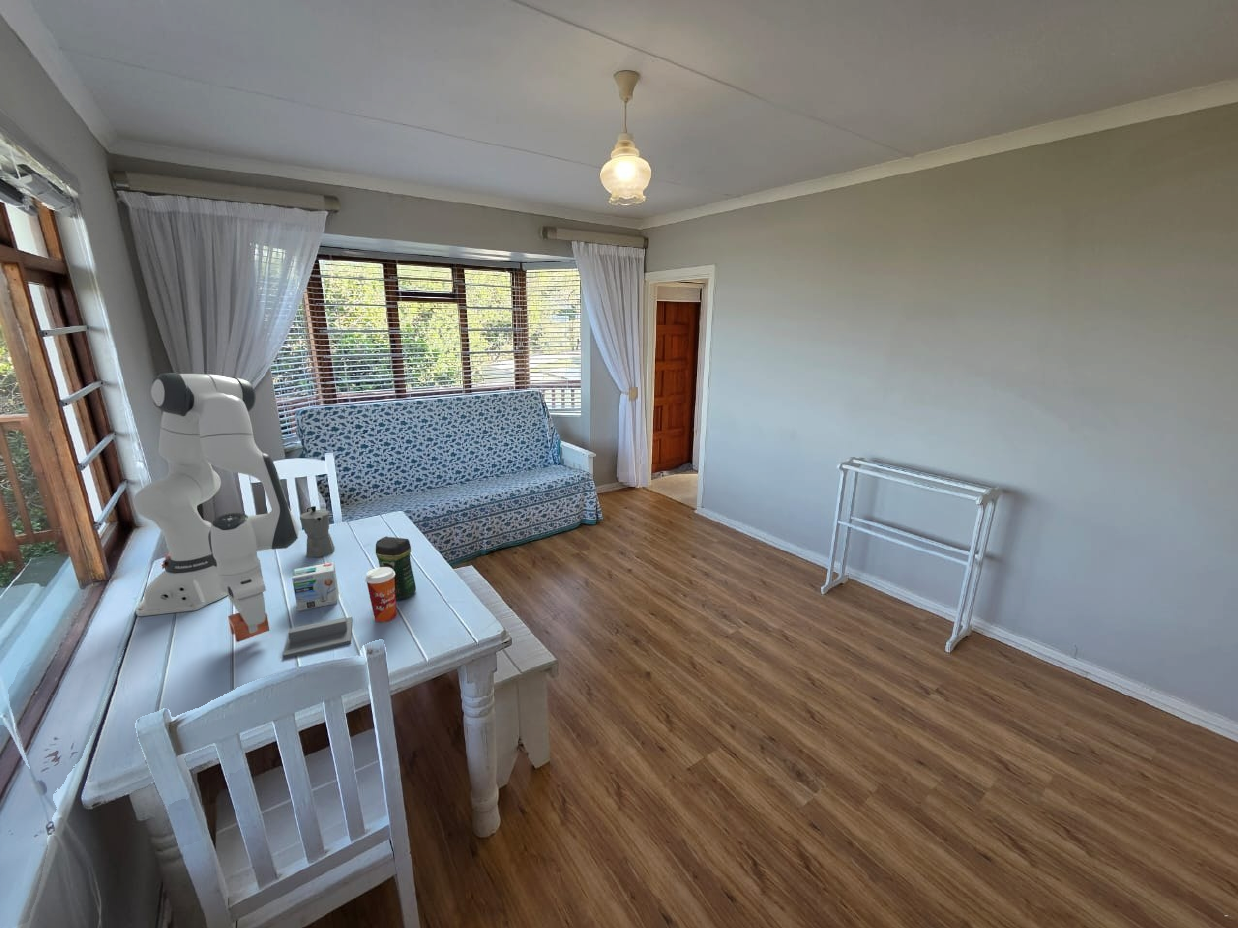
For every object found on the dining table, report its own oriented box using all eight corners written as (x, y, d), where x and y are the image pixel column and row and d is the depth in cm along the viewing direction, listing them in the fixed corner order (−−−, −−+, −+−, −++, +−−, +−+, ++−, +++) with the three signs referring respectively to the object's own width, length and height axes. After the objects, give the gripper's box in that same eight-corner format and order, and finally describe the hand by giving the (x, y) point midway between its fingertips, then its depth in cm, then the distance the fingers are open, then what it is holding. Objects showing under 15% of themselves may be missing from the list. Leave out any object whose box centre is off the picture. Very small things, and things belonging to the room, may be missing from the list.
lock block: (236, 642, 125) (233, 624, 123) (231, 633, 128) (227, 615, 127) (269, 630, 130) (266, 613, 129) (263, 622, 133) (260, 605, 132)
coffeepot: (340, 554, 181) (333, 507, 176) (311, 562, 175) (302, 514, 170) (328, 541, 192) (321, 497, 187) (300, 548, 185) (292, 503, 181)
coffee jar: (420, 589, 157) (414, 535, 152) (404, 602, 150) (397, 545, 145) (394, 585, 159) (387, 531, 154) (376, 598, 152) (369, 542, 147)
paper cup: (381, 627, 137) (375, 581, 134) (365, 618, 141) (358, 574, 137) (406, 614, 144) (400, 570, 140) (390, 606, 148) (384, 563, 144)
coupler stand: (283, 658, 124) (280, 644, 123) (290, 633, 134) (287, 620, 133) (351, 643, 130) (348, 629, 129) (352, 619, 141) (350, 607, 140)
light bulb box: (297, 611, 144) (290, 578, 142) (299, 601, 150) (293, 568, 147) (339, 603, 149) (333, 570, 146) (339, 592, 155) (334, 561, 152)
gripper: (215, 568, 129) (224, 615, 133) (235, 597, 116) (245, 648, 120) (244, 560, 134) (252, 606, 138) (267, 587, 121) (275, 637, 125)
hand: (249, 625), depth 129 cm, fingers closed on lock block, 5 cm apart
